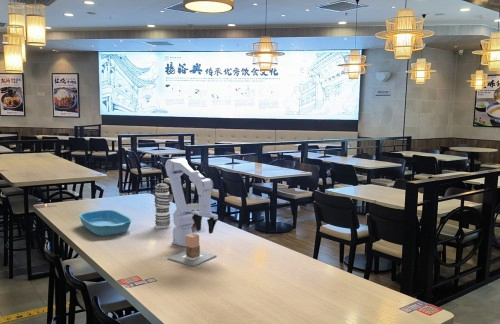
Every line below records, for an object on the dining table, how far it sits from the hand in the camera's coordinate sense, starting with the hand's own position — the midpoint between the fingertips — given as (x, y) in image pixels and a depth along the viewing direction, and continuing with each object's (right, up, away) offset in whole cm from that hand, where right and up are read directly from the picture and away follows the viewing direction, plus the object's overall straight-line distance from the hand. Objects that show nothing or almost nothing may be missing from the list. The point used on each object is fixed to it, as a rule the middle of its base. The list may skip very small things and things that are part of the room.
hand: (204, 231), depth 204 cm
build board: (-5, -11, -6) cm, 14 cm away
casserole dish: (-61, -5, +39) cm, 73 cm away
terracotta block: (-5, -6, -7) cm, 10 cm away
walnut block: (-5, -10, -6) cm, 13 cm away
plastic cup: (-11, -4, +47) cm, 49 cm away
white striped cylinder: (-29, -4, +45) cm, 54 cm away
